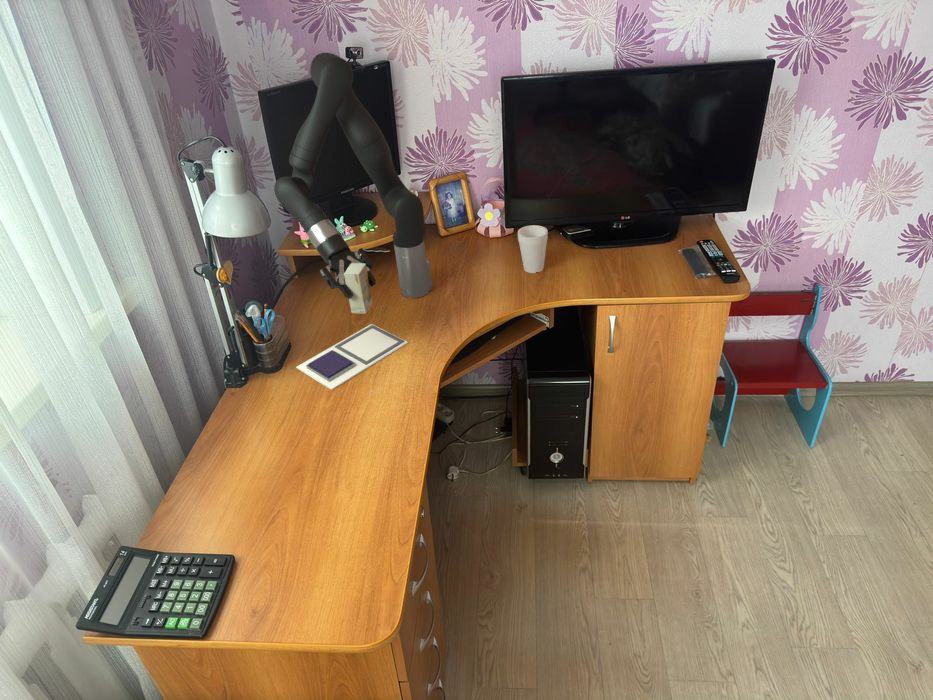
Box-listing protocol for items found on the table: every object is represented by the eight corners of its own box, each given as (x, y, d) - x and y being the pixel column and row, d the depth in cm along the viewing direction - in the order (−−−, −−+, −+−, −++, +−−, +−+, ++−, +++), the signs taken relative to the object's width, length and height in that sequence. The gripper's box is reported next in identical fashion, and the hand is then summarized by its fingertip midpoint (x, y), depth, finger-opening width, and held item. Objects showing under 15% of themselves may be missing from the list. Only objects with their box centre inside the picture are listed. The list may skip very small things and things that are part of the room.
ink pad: (333, 353, 195) (332, 348, 194) (355, 365, 189) (354, 361, 188) (306, 368, 190) (305, 363, 189) (329, 381, 184) (328, 377, 183)
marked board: (371, 324, 206) (371, 322, 206) (408, 343, 197) (407, 341, 196) (296, 368, 191) (295, 366, 191) (331, 390, 182) (331, 388, 181)
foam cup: (519, 261, 231) (518, 225, 224) (548, 261, 230) (547, 224, 223) (519, 275, 224) (517, 238, 216) (548, 275, 222) (547, 237, 215)
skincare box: (366, 314, 188) (358, 274, 180) (351, 313, 188) (342, 274, 181) (373, 301, 193) (366, 262, 186) (358, 301, 194) (350, 262, 186)
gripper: (309, 244, 179) (346, 297, 179) (352, 224, 187) (387, 274, 187) (302, 257, 186) (337, 308, 185) (344, 237, 194) (378, 285, 193)
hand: (362, 291), depth 186 cm, fingers closed on skincare box, 7 cm apart
